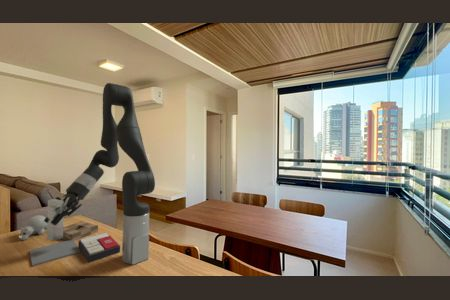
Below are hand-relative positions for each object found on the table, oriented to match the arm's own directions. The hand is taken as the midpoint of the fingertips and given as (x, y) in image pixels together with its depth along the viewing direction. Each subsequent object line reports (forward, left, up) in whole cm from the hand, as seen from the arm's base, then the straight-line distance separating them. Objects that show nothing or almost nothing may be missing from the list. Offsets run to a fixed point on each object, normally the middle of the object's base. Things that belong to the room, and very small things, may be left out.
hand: (49, 222), depth 80 cm
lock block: (+15, -12, -12) cm, 22 cm away
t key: (+1, -2, -7) cm, 7 cm away
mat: (+1, -2, -12) cm, 12 cm away
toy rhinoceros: (+25, +3, -12) cm, 28 cm away
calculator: (-9, -15, -13) cm, 21 cm away
